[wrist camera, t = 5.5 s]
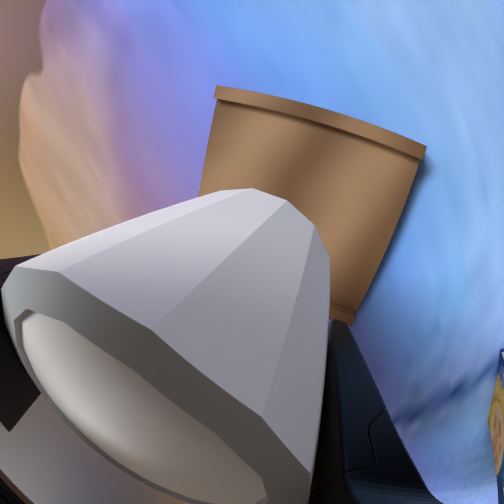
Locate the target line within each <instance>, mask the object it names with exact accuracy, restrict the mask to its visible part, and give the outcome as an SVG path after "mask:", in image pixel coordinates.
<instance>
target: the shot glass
mask: <svg viewBox="0 0 504 504" xmlns="http://www.w3.org/2000/svg"><path fill="white" fill-rule="evenodd" d="M1 292H2V303H3V312H4V319H5V324H6V327H7V330H8V332H9V335H10V337H11V340H12V342H13V345H14V347H15V349H16V352H17V354H18V356H19V358H20V361H21V362H22V364H23V366H24V367H25V369H26V371H27V372H28V374H29V375H30V377H31V378H32V380H33V382H34V383H35V385H36V386H37V388H38V389H39V390H40V392H41V393H42V395H43V396H44V398H45V399H46V400H47V402H48V403H49V404H50V405H51V407H52V408H53V409H54V410H55V411H56V413H57V414H58V415H59V416H60V417H61V418H62V419H63V420H64V421H65V422H66V423H67V425H68V426H69V427H71V429H72V430H73V431H74V432H75V433H76V434H77V435H78V436H79V437H80V438H82V439H83V440H84V441H85V442H86V443H87V444H88V445H90V446H91V447H92V448H93V449H94V450H96V451H97V452H98V453H100V454H101V455H102V456H103V457H104V458H106V459H107V460H108V461H109V462H111V463H112V464H114V465H115V466H117V467H118V468H120V469H121V470H123V471H124V472H126V473H128V474H129V475H131V476H133V477H134V478H136V479H138V480H139V481H141V482H143V483H144V484H146V485H148V486H150V487H152V488H154V489H156V490H159V491H161V492H163V493H165V494H168V495H170V496H172V497H175V498H177V499H180V500H182V501H185V502H187V503H190V504H307V503H308V500H309V495H310V489H311V484H312V478H313V472H314V465H315V459H316V452H317V445H318V438H319V430H320V422H321V413H322V404H323V394H324V384H325V372H326V359H327V345H328V328H329V306H330V256H329V254H328V252H327V250H326V248H325V246H324V243H323V241H322V239H321V237H320V235H319V233H318V231H317V229H316V227H315V225H314V224H313V223H312V222H311V221H310V220H308V219H307V218H306V217H305V216H304V215H303V214H302V213H301V212H300V211H298V210H297V209H296V208H295V207H294V206H293V205H292V204H291V203H289V202H288V201H287V200H284V199H282V198H279V197H276V196H273V195H271V194H268V193H265V192H262V191H259V190H256V189H254V188H250V189H235V190H221V191H217V192H214V193H211V194H207V195H204V196H201V197H197V198H194V199H191V200H188V201H185V202H182V203H179V204H175V205H172V206H169V207H166V208H163V209H160V210H157V211H154V212H151V213H148V214H146V215H143V216H140V217H137V218H134V219H131V220H128V221H126V222H123V223H120V224H117V225H115V226H112V227H109V228H107V229H104V230H101V231H99V232H96V233H93V234H91V235H88V236H85V237H83V238H80V239H78V240H75V241H73V242H70V243H68V244H65V245H63V246H60V247H58V248H56V249H53V250H51V251H48V252H46V253H44V254H41V255H39V256H37V257H34V258H32V259H30V260H27V261H25V262H23V263H21V264H18V265H16V266H15V267H14V268H13V270H12V272H11V273H10V275H9V276H8V278H7V280H6V281H5V283H4V285H3V286H2V288H1Z"/></svg>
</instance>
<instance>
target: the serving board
mask: <svg viewBox="0 0 504 504" xmlns="http://www.w3.org/2000/svg"><path fill="white" fill-rule="evenodd" d="M214 98H216V99H217V102H216V106H215V111H214V116H213V121H212V126H211V130H210V136H209V141H208V146H207V151H206V156H205V162H204V167H203V173H202V179H201V185H200V191H199V197H201V196H204V195H207V194H211V193H214V192H217V191H221V190H235V189H250V188H254V189H256V190H259V191H262V192H265V193H268V194H271V195H273V196H276V197H279V198H282V199H284V200H287V201H288V202H289V203H291V204H292V205H293V206H294V207H295V208H296V209H297V210H298V211H300V212H301V213H302V214H303V215H304V216H305V217H306V218H307V219H308V220H310V221H311V222H312V223H313V224H314V225H315V227H316V229H317V231H318V233H319V235H320V237H321V239H322V241H323V243H324V246H325V248H326V250H327V252H328V254H329V256H330V306H329V319H332V320H333V319H334V318H336V319H339V320H342V321H345V322H346V323H347V324H348V325H349V326H351V325H352V323H353V322H354V320H355V318H356V312H357V310H358V308H359V306H360V304H361V302H362V300H363V298H364V296H365V294H366V292H367V290H368V288H369V286H370V284H371V282H372V280H373V278H374V276H375V273H376V271H377V269H378V267H379V265H380V263H381V260H382V258H383V256H384V254H385V251H386V249H387V247H388V244H389V242H390V240H391V237H392V235H393V232H394V230H395V228H396V225H397V223H398V220H399V218H400V215H401V213H402V210H403V207H404V205H405V202H406V199H407V197H408V194H409V191H410V188H411V186H412V183H413V180H414V177H415V174H416V171H417V168H418V165H419V162H420V159H421V160H423V157H424V154H425V150H426V147H427V146H425V145H423V144H420V143H418V142H416V141H414V140H411V139H409V138H406V137H404V136H402V135H399V134H397V133H394V132H391V131H389V130H386V129H384V128H381V127H378V126H376V125H373V124H370V123H367V122H364V121H361V120H358V119H355V118H352V117H349V116H346V115H343V114H340V113H337V112H333V111H330V110H327V109H323V108H320V107H316V106H313V105H309V104H305V103H301V102H297V101H294V100H289V99H285V98H281V97H277V96H272V95H267V94H263V93H258V92H253V91H248V90H242V89H236V88H230V87H224V86H218V85H216V89H215V93H214Z"/></svg>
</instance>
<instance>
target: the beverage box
mask: <svg viewBox="0 0 504 504" xmlns="http://www.w3.org/2000/svg"><path fill="white" fill-rule="evenodd" d="M488 423H489V428H490V433H491V439H492V445H493V451H494V458H495V466H496V475H497V486H498V504H504V348H503V349H501V350H500V358H499V366H498V373H497V379H496V385H495V390H494V395H493V400H492V405H491V409H490V413H489V418H488Z"/></svg>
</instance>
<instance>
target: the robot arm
mask: <svg viewBox="0 0 504 504" xmlns="http://www.w3.org/2000/svg"><path fill="white" fill-rule="evenodd" d="M39 255H41V254H38V255H32V256H25V257H17V258H8V259H0V422H1V423H2V425H3V426H4V427H5V428H6V429H7V430H8V431H9V432H10V431H11V430H12V429H13V427H14V426H15V425H16V423H17V422H18V421H19V420H20V419H21V417H22V416H23V415H24V414H25V412H26V411H27V410H28V409H29V407H30V406H31V405H32V403H33V402H34V401H35V400H36V399H37V397H38V396H39V395H40V394H41V392H40V390H39V389H38V388H37V386H36V385H35V383H34V382H33V380H32V378H31V377H30V375H29V374H28V372H27V371H26V369H25V367H24V366H23V364H22V362H21V361H20V358H19V356H18V354H17V352H16V349H15V347H14V345H13V342H12V340H11V337H10V335H9V332H8V330H7V327H6V324H5V319H4V312H3V303H2V292H1V288H2V286H3V285H4V283H5V281H6V280H7V278H8V276H9V275H10V273H11V272H12V270H13V268H14V267H15V266H16V265H18V264H21V263H23V262H25V261H27V260H30V259H32V258H34V257H37V256H39ZM385 408H386V406H385V404H384V401H383V399H382V397H381V395H380V392H379V390H378V388H377V386H376V383H375V381H374V379H373V377H372V375H371V372H370V370H369V368H368V366H367V364H366V362H365V360H364V357H363V355H362V353H361V351H360V349H359V347H358V345H357V343H356V341H355V339H354V337H353V334H352V332H351V330H350V328H349V326H348V324H347V323H346V322H345V321H342V320H339V319H336V318H334V319H333V320H332V321H331V323H330V325H329V328H328V345H327V359H326V372H325V384H324V394H323V404H322V413H321V422H320V430H319V438H318V445H317V452H316V459H315V465H314V472H313V478H312V484H311V489H310V495H309V500H308V503H307V504H443V503H442V502H440V501H439V500H437V499H436V498H435V497H434V496H433V495H432V494H431V493H430V491H429V490H428V488H427V487H426V485H425V483H424V481H423V480H422V478H421V476H420V474H419V472H418V470H417V468H416V467H415V465H414V463H413V461H412V459H411V457H410V455H409V454H408V452H407V450H406V448H405V446H404V444H403V442H402V440H401V438H400V437H399V435H398V432H397V430H396V428H395V426H394V424H393V422H392V419H391V417H390V415H389V412H388V410H387V409H385ZM0 504H34V503H33V502H32V501H31V500H29V499H28V498H27V497H26V496H25V495H24V494H23V493H22V492H21V491H20V490H19V489H18V488H17V487H16V486H15V485H14V484H13V483H12V481H11V480H10V479H9V478H8V477H7V476H6V475H5V474H4V473H3V472H2V471H1V469H0Z"/></svg>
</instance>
